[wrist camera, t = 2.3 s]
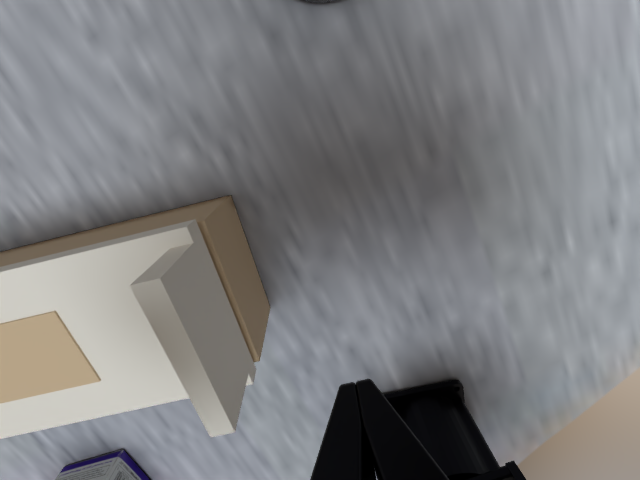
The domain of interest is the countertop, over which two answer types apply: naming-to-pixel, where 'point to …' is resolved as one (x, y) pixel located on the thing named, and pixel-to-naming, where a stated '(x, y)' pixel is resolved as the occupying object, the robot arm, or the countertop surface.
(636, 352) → the countertop surface
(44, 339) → the lid
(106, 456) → the supplement box
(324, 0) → the supplement bottle
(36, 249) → the base
